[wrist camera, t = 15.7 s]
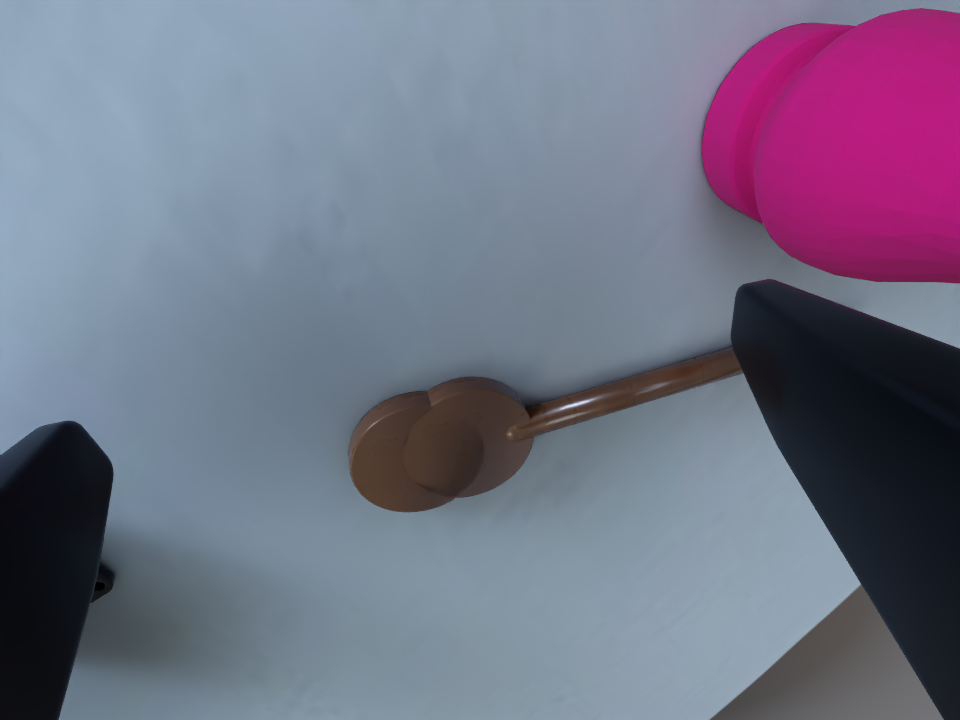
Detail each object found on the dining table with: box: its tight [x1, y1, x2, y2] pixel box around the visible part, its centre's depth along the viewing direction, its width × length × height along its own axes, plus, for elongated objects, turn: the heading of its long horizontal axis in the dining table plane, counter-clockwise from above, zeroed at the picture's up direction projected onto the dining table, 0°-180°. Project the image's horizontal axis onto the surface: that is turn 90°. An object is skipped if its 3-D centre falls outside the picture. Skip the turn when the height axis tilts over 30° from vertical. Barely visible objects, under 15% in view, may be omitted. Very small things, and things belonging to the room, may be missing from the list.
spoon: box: [348, 347, 743, 512], centre depth 25 cm, size 22×5×1 cm, turn 100°
